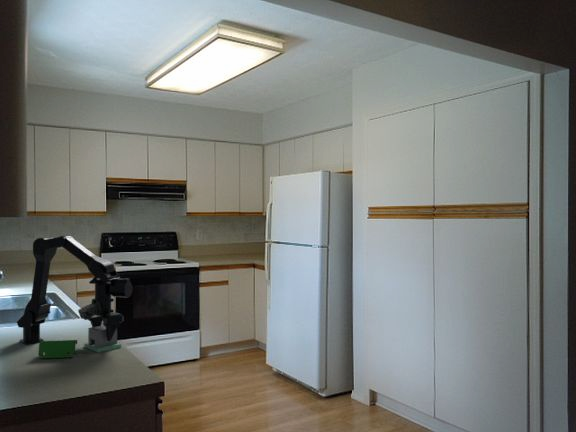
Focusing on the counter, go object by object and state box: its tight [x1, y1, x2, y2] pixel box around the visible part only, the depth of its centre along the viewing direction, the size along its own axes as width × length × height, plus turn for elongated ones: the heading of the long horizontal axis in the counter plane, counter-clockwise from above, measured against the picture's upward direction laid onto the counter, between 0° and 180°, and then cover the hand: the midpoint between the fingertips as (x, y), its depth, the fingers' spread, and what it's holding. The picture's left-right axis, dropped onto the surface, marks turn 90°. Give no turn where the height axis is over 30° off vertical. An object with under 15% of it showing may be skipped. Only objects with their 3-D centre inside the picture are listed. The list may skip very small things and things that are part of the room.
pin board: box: [83, 342, 122, 353], centre depth 183 cm, size 10×9×3 cm
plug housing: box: [87, 324, 118, 348], centre depth 183 cm, size 6×8×6 cm
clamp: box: [38, 339, 78, 359], centre depth 172 cm, size 12×6×9 cm, turn 95°
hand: (102, 338), depth 183 cm, fingers open, 9 cm apart
